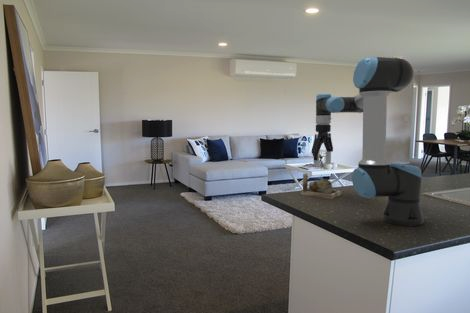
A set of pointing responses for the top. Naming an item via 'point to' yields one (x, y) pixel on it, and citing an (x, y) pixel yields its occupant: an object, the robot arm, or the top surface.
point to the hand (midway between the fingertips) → (322, 165)
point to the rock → (321, 186)
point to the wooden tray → (316, 194)
